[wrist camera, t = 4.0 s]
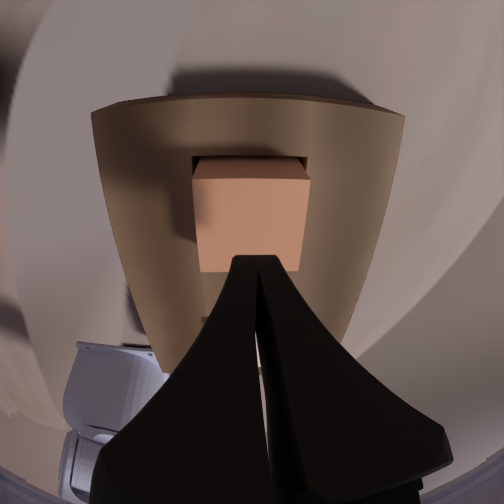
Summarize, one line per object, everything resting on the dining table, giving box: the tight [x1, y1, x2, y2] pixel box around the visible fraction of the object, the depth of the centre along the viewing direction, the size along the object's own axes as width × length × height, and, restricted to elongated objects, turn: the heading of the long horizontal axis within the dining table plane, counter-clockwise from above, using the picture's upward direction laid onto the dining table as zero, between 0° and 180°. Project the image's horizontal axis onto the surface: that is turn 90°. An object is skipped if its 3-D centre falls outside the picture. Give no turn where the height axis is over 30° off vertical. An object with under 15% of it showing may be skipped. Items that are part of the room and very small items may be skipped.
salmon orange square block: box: [192, 155, 311, 272], centre depth 13 cm, size 4×4×3 cm
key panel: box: [91, 92, 405, 375], centre depth 18 cm, size 14×20×3 cm
